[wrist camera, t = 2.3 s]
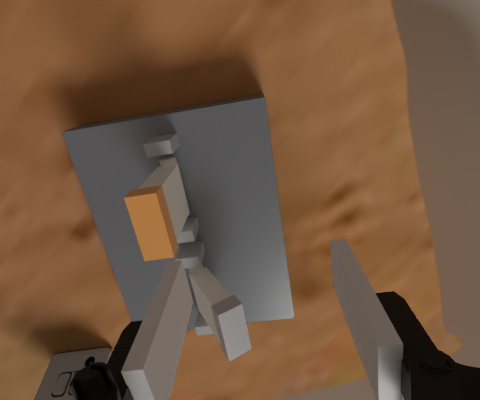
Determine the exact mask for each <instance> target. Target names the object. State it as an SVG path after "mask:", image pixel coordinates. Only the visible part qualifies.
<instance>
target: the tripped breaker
mask: <svg viewBox="0 0 480 400" xmlns="http://www.w3.org/2000/svg"><path fill="white" fill-rule="evenodd" d="M159 162H160V166H161V167H157V168H156V169H155V171H154V172H153V173H152V174H151V175H150V176H149V177H148V178H147V179H146V180H145V181H144V182H143V184H142V185H141V186H140V187H139V188H138V189H134V190H131V191H130V192H129V193H128V194H127V195H126V196H125V197H124V200H125V203H126V206H127V209H128V212H129V215H130V218H131V221H132V224H133V227H134V230H135V234H136V237H137V240H138V243H139V246H140V249H141V252H142V255H143V258H144V261H150V260H158V259H165V258H173V257H175V254H176V252H177V249H178V243H177V240H178V238H179V236H180V233H181V231H182V228H183V226H184V224H185V221H186V219H187V217H188V216H189V215H190V211H189V207H188V203H187V199H186V195H185V191H184V187H183V183H182V179H181V175H180V171H179V167H178V164H177V160H176V157H167V158H164V159H161V160H160V161H159Z"/></svg>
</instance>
